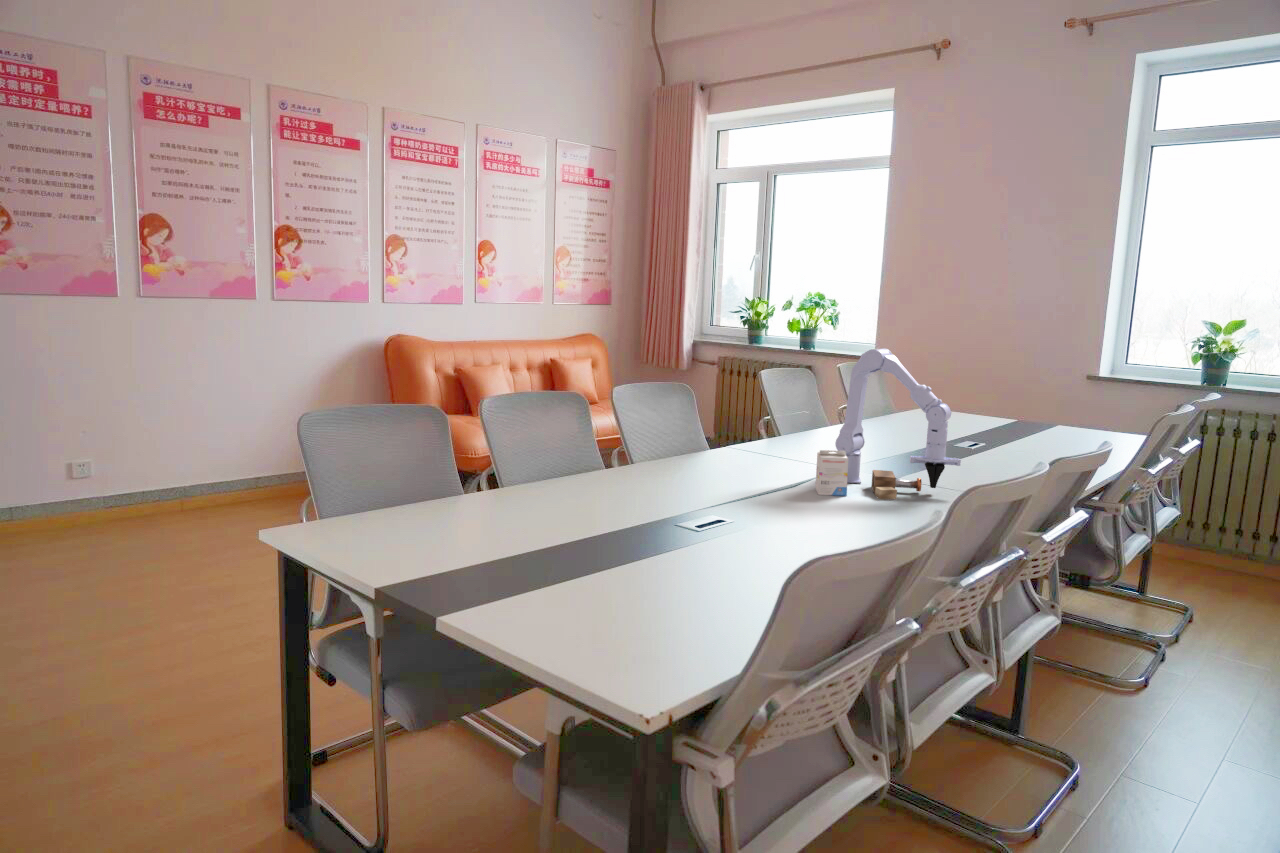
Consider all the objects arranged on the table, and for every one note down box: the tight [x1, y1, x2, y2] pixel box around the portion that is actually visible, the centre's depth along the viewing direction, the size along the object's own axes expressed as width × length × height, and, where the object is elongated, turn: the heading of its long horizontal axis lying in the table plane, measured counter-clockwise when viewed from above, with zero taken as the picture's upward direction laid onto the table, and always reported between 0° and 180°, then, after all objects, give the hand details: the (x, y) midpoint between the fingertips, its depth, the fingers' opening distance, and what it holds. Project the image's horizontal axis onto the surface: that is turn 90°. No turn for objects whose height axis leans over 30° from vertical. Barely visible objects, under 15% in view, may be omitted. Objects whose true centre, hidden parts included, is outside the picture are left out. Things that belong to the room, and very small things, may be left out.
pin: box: [895, 477, 922, 492], centre depth 263 cm, size 12×4×4 cm, turn 79°
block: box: [874, 487, 898, 500], centre depth 255 cm, size 5×4×3 cm
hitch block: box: [871, 469, 897, 495], centre depth 264 cm, size 6×10×5 cm, turn 169°
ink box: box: [815, 449, 848, 497], centre depth 259 cm, size 9×8×13 cm
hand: (932, 487), depth 261 cm, fingers closed
